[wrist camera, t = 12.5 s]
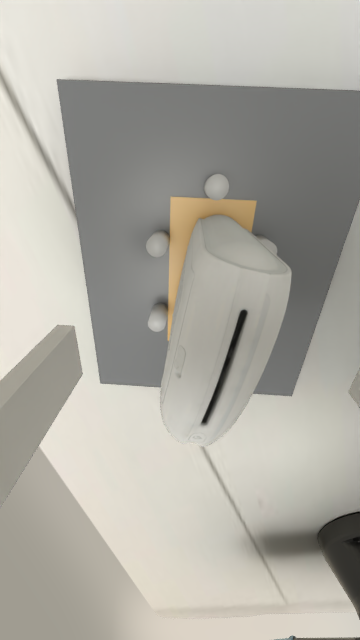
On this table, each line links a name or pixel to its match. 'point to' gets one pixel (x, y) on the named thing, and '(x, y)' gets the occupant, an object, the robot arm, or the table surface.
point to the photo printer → (220, 329)
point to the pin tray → (204, 203)
